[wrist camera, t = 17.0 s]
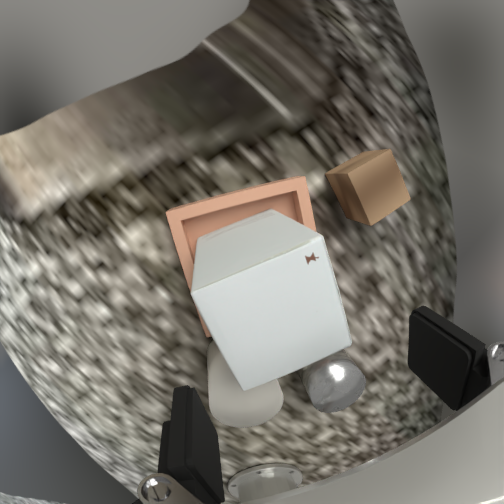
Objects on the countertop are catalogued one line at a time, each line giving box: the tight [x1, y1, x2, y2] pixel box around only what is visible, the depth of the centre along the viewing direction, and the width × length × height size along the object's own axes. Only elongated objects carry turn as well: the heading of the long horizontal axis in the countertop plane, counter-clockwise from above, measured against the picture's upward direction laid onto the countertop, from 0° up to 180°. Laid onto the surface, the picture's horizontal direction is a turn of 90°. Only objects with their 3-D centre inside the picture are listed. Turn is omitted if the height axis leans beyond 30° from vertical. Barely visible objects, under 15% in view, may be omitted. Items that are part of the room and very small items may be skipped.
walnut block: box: [325, 149, 410, 226], centre depth 25 cm, size 5×5×5 cm
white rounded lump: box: [207, 340, 283, 428], centre depth 27 cm, size 6×6×8 cm
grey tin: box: [297, 349, 366, 413], centre depth 29 cm, size 6×6×6 cm
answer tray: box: [166, 176, 316, 337], centre depth 27 cm, size 12×12×2 cm
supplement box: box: [191, 208, 352, 391], centre depth 21 cm, size 7×7×13 cm
